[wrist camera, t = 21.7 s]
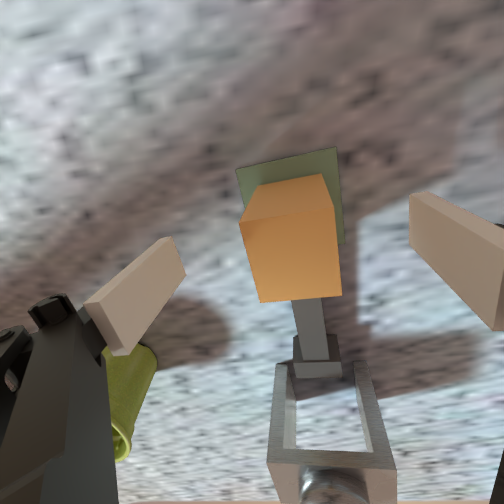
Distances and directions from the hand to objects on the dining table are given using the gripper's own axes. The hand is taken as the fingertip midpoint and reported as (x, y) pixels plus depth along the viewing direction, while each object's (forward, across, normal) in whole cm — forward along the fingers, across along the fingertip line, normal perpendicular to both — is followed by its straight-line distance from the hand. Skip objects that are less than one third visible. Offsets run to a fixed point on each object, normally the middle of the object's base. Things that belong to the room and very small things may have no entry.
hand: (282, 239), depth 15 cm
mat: (+6, 0, 0) cm, 6 cm away
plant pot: (+7, -20, -14) cm, 26 cm away
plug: (+6, +1, -6) cm, 8 cm away
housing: (+6, 0, -19) cm, 20 cm away
